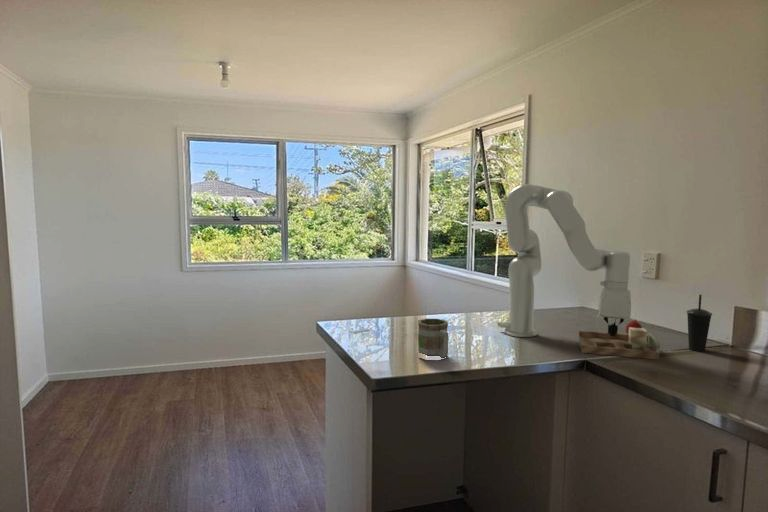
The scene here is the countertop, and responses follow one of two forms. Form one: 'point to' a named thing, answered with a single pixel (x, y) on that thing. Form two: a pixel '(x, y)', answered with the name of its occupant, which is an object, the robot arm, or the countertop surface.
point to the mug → (433, 337)
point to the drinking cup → (698, 327)
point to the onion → (633, 325)
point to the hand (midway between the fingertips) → (612, 335)
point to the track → (617, 345)
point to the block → (637, 336)
